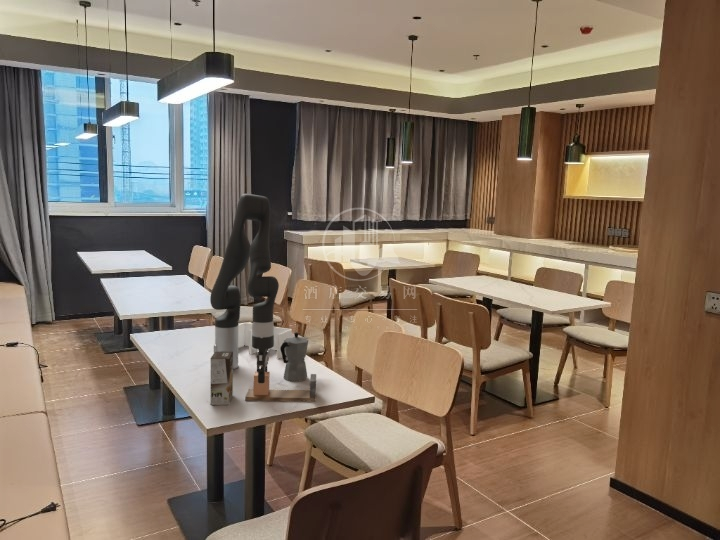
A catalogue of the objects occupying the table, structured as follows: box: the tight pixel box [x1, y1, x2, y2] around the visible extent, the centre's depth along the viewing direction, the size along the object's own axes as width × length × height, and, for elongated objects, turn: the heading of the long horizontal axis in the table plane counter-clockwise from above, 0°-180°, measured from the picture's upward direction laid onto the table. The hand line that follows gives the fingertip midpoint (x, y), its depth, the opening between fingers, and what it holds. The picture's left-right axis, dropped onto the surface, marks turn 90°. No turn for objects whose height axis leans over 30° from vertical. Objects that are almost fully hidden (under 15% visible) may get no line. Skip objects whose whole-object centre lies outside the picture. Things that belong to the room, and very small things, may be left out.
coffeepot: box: [280, 332, 309, 382], centre depth 222 cm, size 15×9×18 cm, turn 147°
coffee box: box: [209, 351, 234, 406], centre depth 197 cm, size 9×6×16 cm
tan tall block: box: [252, 371, 271, 395], centre depth 202 cm, size 5×4×7 cm
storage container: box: [238, 322, 293, 360], centre depth 257 cm, size 25×11×11 cm, turn 67°
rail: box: [245, 373, 317, 402], centre depth 202 cm, size 24×8×7 cm, turn 93°
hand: (262, 378), depth 202 cm, fingers open, 8 cm apart
